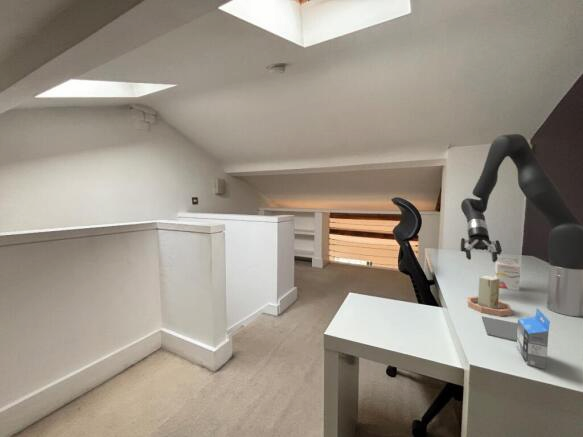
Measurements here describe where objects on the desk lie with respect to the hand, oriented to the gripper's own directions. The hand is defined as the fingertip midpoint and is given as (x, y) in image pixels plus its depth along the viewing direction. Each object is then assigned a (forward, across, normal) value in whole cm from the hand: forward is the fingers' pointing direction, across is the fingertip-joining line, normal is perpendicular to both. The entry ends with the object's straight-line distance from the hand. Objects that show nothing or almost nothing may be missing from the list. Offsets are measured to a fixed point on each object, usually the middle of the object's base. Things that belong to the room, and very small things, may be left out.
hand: (481, 259), depth 104 cm
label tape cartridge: (+44, +2, -20) cm, 49 cm away
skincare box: (+20, 0, +3) cm, 21 cm away
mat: (+33, +2, -10) cm, 35 cm away
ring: (+20, 0, +3) cm, 21 cm away
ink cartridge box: (-3, +14, +27) cm, 31 cm away
